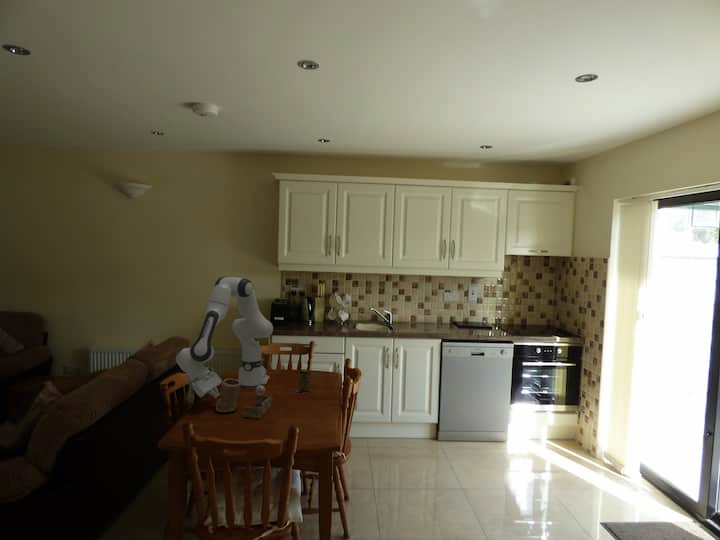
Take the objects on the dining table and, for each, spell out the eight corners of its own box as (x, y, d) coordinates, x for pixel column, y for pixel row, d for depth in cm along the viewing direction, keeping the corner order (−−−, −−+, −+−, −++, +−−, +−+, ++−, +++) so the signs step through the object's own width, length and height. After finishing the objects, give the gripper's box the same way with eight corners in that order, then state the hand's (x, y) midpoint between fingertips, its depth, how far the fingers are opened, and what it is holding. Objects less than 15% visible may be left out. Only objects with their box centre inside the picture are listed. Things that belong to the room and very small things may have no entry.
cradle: (257, 404, 234) (258, 375, 234) (274, 405, 233) (275, 376, 232) (243, 417, 215) (244, 386, 215) (262, 418, 214) (262, 387, 214)
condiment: (305, 388, 264) (306, 368, 263) (313, 392, 257) (313, 371, 257) (294, 390, 259) (295, 370, 259) (302, 394, 253) (303, 373, 252)
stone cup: (239, 413, 220) (240, 383, 220) (214, 414, 218) (214, 384, 217) (240, 403, 235) (241, 374, 235) (217, 404, 233) (217, 375, 232)
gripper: (194, 377, 217) (212, 399, 216) (213, 367, 237) (230, 386, 237) (185, 386, 218) (203, 407, 217) (205, 374, 238) (222, 394, 237)
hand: (218, 396), depth 227 cm, fingers closed
